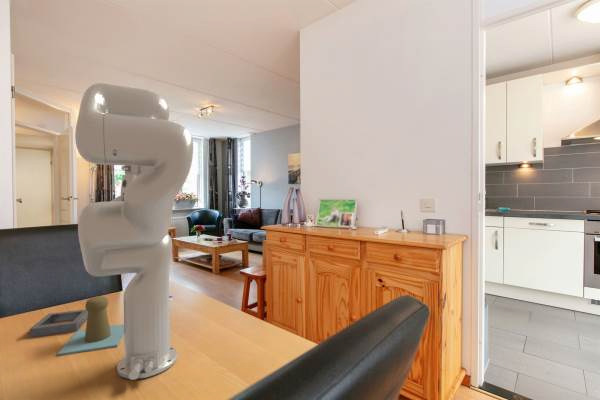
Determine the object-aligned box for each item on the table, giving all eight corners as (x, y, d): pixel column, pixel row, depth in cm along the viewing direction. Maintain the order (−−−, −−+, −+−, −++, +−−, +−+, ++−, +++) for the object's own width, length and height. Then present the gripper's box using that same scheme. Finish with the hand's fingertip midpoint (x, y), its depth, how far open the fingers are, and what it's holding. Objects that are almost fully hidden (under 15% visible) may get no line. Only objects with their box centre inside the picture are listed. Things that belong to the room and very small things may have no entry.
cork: (97, 343, 78) (96, 302, 77) (78, 341, 79) (77, 300, 79) (116, 332, 84) (115, 294, 83) (98, 330, 85) (97, 293, 85)
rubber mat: (117, 346, 77) (117, 344, 77) (57, 355, 73) (57, 353, 73) (128, 325, 89) (128, 323, 89) (77, 332, 85) (77, 330, 85)
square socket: (76, 331, 86) (76, 323, 86) (29, 337, 82) (29, 329, 82) (90, 316, 96) (89, 308, 96) (48, 321, 93) (48, 313, 92)
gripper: (119, 168, 79) (121, 231, 80) (171, 172, 95) (172, 225, 96) (102, 169, 82) (103, 230, 83) (155, 172, 98) (156, 224, 99)
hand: (140, 227), depth 89 cm, fingers open, 9 cm apart
